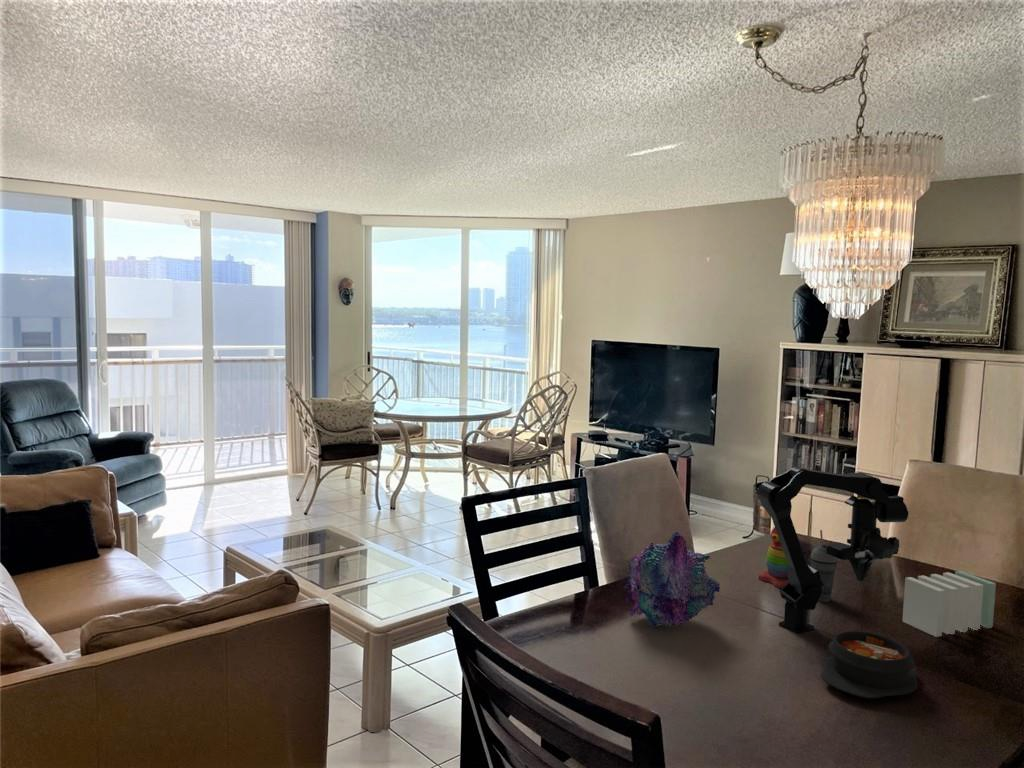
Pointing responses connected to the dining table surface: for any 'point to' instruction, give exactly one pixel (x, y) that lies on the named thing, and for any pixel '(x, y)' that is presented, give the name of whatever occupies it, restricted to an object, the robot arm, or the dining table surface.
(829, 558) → the beverage cup
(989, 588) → the domino
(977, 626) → the domino
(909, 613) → the domino
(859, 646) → the casserole
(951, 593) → the domino
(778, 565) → the stacking bear
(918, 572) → the dining table surface
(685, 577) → the coral
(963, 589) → the domino
